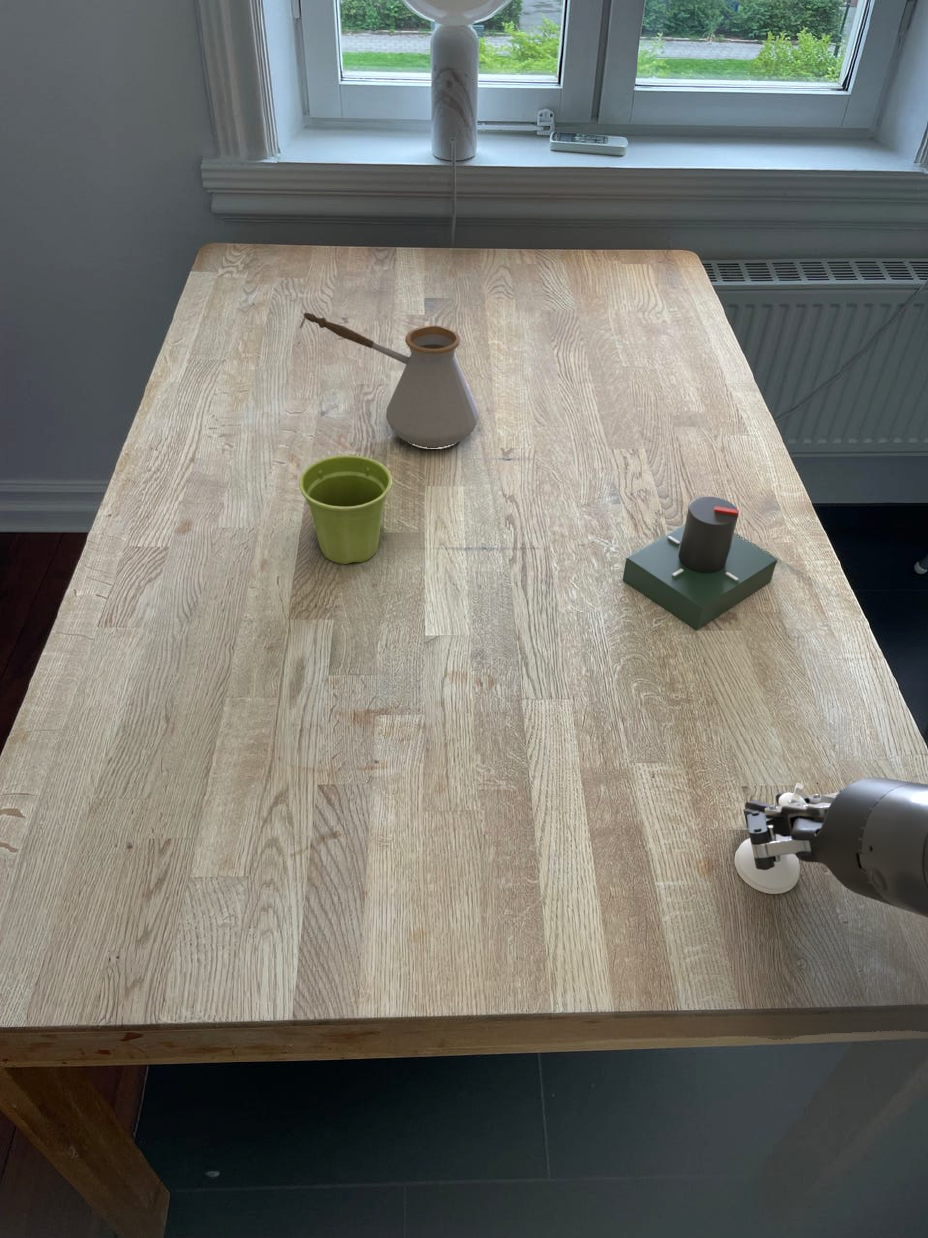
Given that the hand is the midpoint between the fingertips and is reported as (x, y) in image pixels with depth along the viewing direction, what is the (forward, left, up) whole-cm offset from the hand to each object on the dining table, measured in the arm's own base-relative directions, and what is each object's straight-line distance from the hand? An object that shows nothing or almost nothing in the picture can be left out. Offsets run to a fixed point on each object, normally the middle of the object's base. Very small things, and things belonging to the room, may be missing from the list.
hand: (766, 811), depth 74 cm
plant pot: (+3, -51, -5) cm, 51 cm away
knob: (-22, -24, -1) cm, 33 cm away
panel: (-22, -24, -4) cm, 33 cm away
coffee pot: (-15, -67, -5) cm, 69 cm away
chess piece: (+1, +2, -5) cm, 5 cm away
